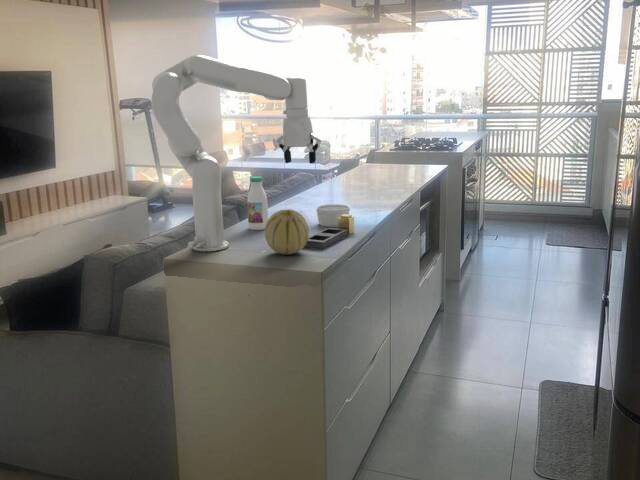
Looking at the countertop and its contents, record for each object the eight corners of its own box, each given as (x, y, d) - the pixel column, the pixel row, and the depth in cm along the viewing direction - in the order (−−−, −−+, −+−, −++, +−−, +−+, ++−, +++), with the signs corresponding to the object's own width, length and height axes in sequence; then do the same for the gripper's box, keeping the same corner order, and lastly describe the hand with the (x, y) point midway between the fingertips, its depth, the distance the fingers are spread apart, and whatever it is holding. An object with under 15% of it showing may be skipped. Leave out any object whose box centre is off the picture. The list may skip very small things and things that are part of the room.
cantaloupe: (290, 245, 212) (288, 202, 209) (319, 253, 202) (318, 208, 198) (255, 254, 203) (253, 209, 199) (284, 262, 192) (282, 215, 189)
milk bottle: (258, 225, 244) (256, 175, 239) (272, 227, 240) (270, 176, 235) (244, 228, 239) (241, 177, 234) (258, 231, 234) (256, 179, 229)
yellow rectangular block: (349, 235, 225) (349, 217, 223) (338, 234, 227) (337, 216, 225) (354, 232, 229) (354, 214, 227) (343, 231, 231) (342, 213, 229)
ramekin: (311, 222, 247) (311, 205, 245) (341, 219, 252) (341, 202, 250) (324, 229, 235) (324, 211, 233) (355, 225, 240) (355, 208, 238)
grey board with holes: (323, 249, 206) (323, 242, 206) (302, 247, 210) (302, 240, 209) (347, 236, 223) (347, 229, 223) (328, 234, 227) (327, 227, 226)
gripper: (270, 115, 214) (273, 164, 219) (314, 113, 207) (317, 164, 211) (280, 113, 221) (284, 161, 225) (324, 112, 213) (326, 161, 218)
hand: (300, 162), depth 218 cm, fingers open, 9 cm apart
